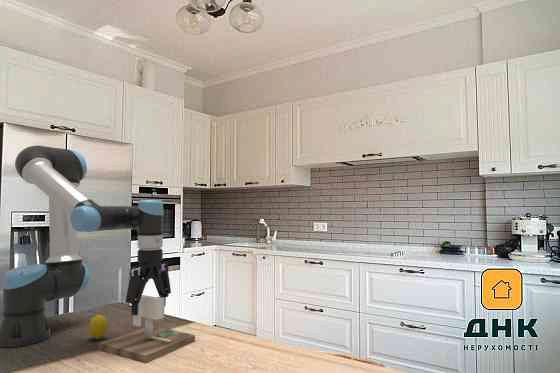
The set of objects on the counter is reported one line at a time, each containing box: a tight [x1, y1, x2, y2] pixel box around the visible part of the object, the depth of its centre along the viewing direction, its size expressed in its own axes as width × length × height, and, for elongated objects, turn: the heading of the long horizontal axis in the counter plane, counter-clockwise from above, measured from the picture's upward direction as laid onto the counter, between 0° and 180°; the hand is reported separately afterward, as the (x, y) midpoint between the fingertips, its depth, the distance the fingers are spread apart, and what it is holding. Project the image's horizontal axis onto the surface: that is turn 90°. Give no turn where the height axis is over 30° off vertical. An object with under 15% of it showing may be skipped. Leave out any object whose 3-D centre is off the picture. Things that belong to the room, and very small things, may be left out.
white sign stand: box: [139, 294, 171, 342], centre depth 120 cm, size 14×2×12 cm, turn 61°
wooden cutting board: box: [98, 325, 196, 364], centre depth 121 cm, size 20×20×2 cm
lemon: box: [88, 313, 108, 340], centre depth 127 cm, size 6×6×8 cm
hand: (149, 321), depth 121 cm, fingers open, 9 cm apart
